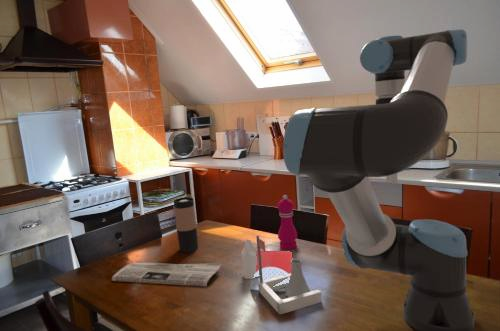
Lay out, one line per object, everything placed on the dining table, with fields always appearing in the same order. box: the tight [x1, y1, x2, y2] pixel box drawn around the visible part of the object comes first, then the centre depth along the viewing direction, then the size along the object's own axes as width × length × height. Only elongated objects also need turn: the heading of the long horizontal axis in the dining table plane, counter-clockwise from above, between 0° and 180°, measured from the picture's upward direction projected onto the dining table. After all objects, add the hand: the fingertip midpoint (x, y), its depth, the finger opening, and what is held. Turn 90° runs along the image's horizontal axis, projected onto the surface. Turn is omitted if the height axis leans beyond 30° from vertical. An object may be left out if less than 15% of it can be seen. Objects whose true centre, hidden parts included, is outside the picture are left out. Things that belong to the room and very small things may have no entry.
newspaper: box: [111, 261, 223, 288], centre depth 125 cm, size 35×12×4 cm, turn 74°
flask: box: [284, 258, 311, 298], centre depth 105 cm, size 7×7×10 cm
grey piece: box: [240, 238, 258, 280], centre depth 119 cm, size 6×12×6 cm
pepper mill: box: [277, 194, 298, 251], centre depth 140 cm, size 7×7×20 cm
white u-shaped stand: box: [256, 235, 323, 315], centre depth 104 cm, size 14×12×17 cm
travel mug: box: [173, 196, 199, 253], centre depth 146 cm, size 8×8×20 cm
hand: (391, 182), depth 105 cm, fingers closed
